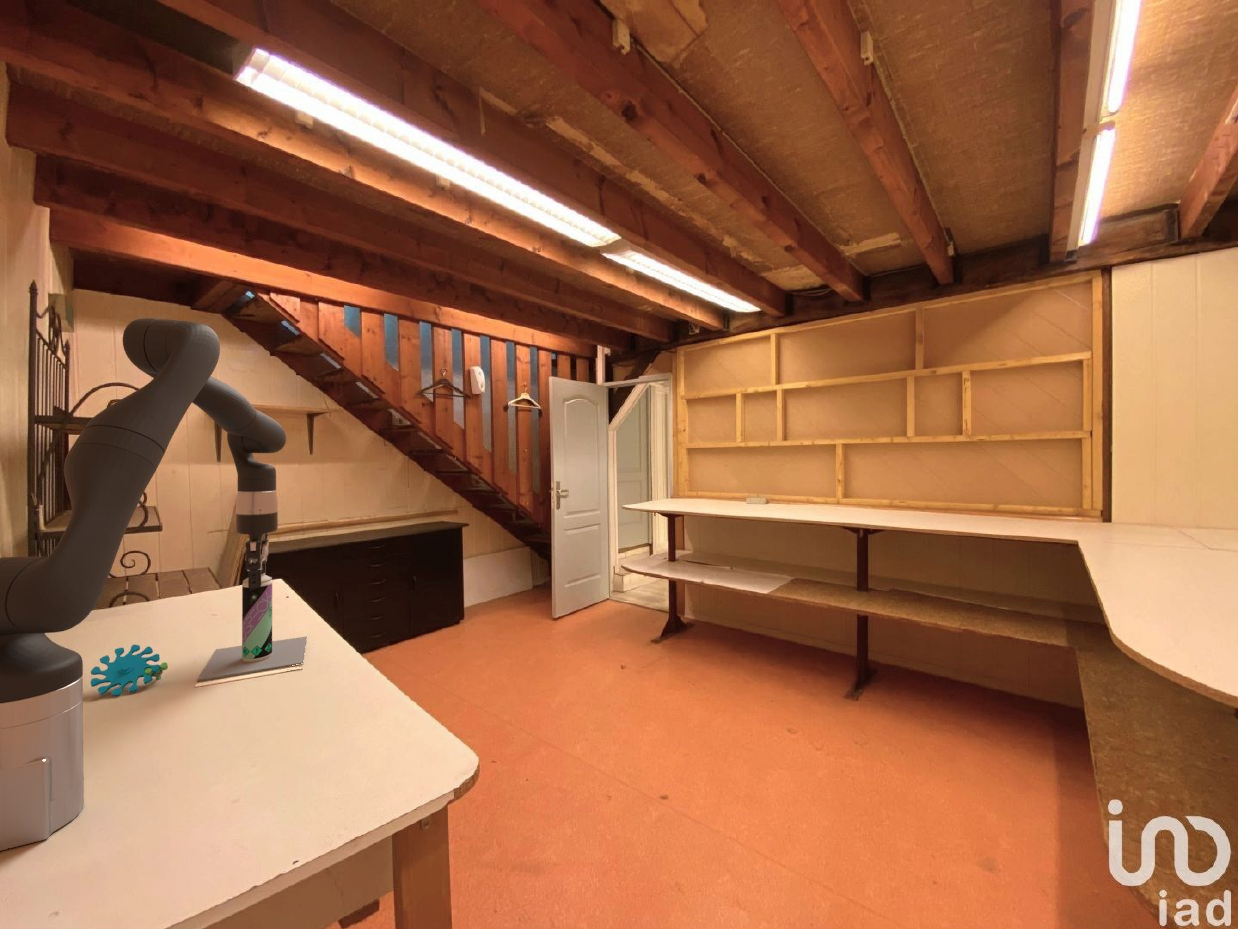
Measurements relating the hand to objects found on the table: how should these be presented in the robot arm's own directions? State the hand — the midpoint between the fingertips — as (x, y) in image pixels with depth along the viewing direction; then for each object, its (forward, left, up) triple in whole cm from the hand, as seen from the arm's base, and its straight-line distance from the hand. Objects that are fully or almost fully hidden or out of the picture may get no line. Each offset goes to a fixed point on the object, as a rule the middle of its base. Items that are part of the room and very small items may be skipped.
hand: (257, 583), depth 113 cm
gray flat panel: (0, 0, -17) cm, 17 cm away
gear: (-5, +20, -17) cm, 27 cm away
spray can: (0, 0, -17) cm, 17 cm away
